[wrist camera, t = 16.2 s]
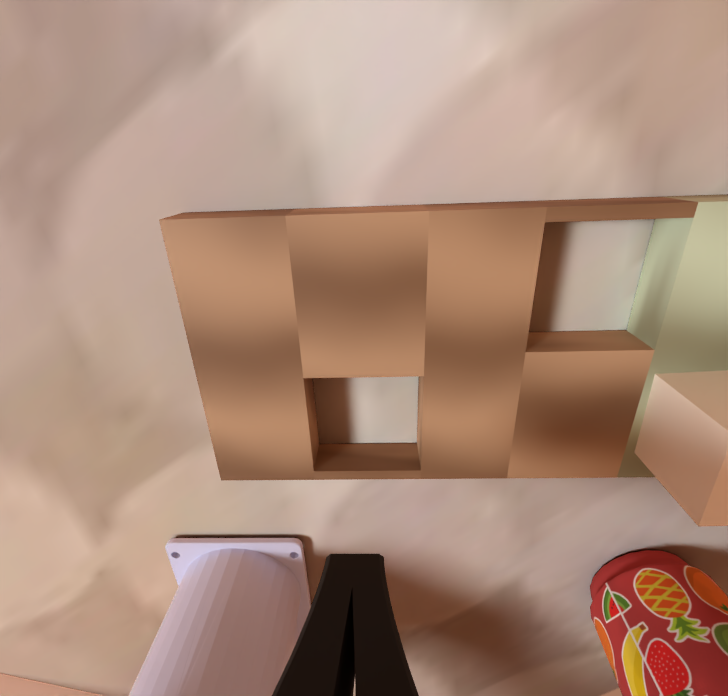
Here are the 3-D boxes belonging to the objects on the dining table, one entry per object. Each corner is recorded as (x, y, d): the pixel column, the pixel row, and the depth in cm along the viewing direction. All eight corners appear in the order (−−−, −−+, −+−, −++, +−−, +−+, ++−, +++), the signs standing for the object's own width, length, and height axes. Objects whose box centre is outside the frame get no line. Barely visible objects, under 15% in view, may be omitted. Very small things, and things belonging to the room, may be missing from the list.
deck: (718, 447, 20) (803, 520, 16) (234, 452, 21) (201, 522, 17) (825, 191, 15) (988, 203, 11) (183, 212, 16) (118, 231, 12)
